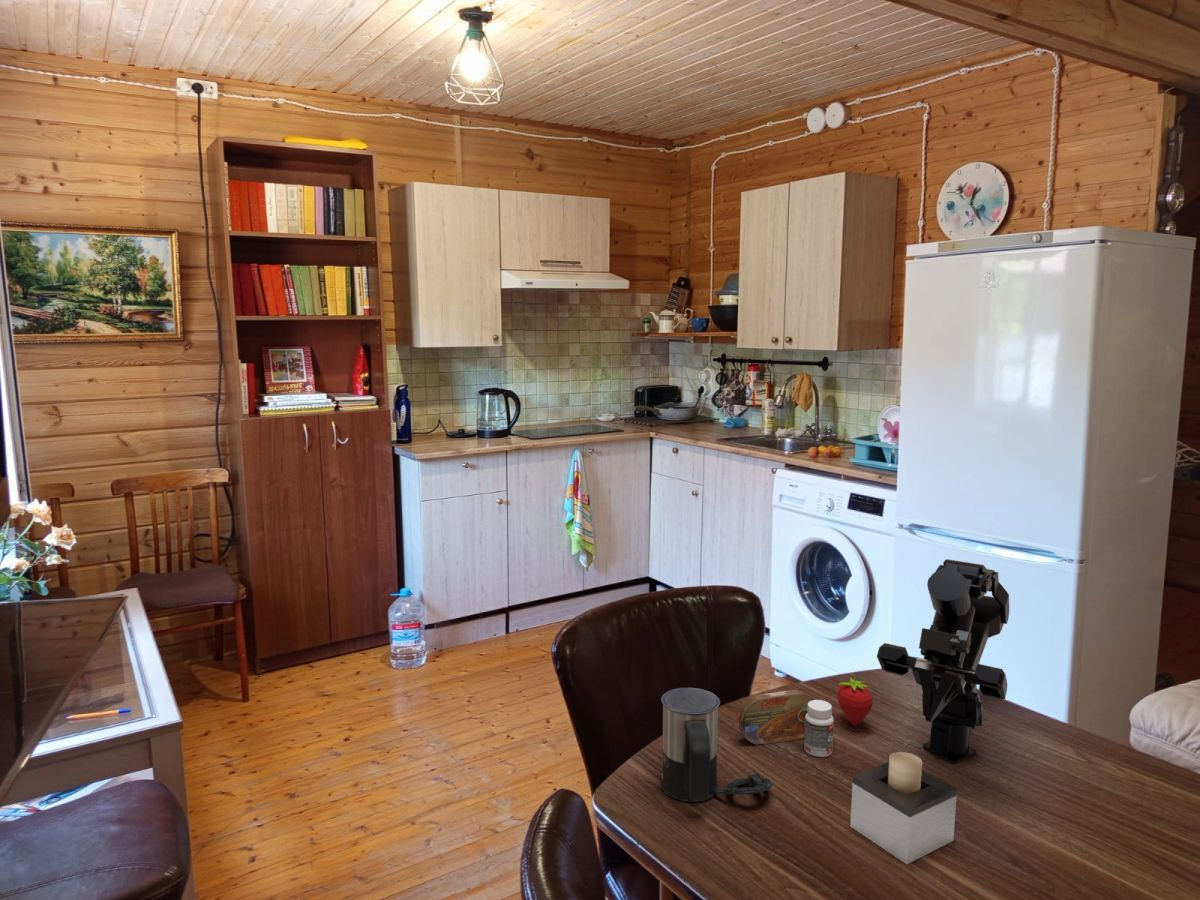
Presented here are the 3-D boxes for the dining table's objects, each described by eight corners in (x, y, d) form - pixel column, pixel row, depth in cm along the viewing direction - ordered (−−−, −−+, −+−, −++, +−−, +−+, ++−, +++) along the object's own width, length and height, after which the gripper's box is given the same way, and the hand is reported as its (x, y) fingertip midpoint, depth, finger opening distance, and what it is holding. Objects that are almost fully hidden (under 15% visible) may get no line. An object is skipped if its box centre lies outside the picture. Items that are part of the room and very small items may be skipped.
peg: (900, 796, 123) (903, 748, 122) (925, 811, 119) (928, 762, 118) (880, 805, 121) (882, 757, 120) (905, 820, 117) (908, 771, 116)
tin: (740, 747, 145) (742, 702, 144) (733, 739, 148) (734, 694, 147) (819, 737, 148) (821, 692, 147) (811, 728, 151) (813, 685, 150)
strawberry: (848, 737, 148) (851, 684, 147) (828, 717, 155) (830, 666, 154) (878, 733, 149) (881, 681, 148) (857, 714, 157) (859, 663, 155)
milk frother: (650, 777, 136) (651, 691, 133) (734, 758, 141) (737, 675, 139) (691, 826, 123) (693, 733, 120) (782, 803, 128) (785, 713, 126)
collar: (896, 805, 128) (898, 757, 126) (953, 840, 119) (957, 788, 118) (850, 826, 122) (852, 776, 121) (906, 864, 114) (910, 810, 113)
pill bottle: (833, 759, 141) (835, 712, 140) (804, 756, 142) (806, 710, 141) (831, 745, 146) (833, 700, 144) (803, 742, 147) (805, 697, 145)
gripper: (883, 595, 135) (857, 684, 128) (1009, 619, 124) (989, 717, 117) (895, 626, 142) (871, 712, 135) (1015, 652, 132) (996, 746, 125)
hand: (928, 721), depth 128 cm, fingers closed
